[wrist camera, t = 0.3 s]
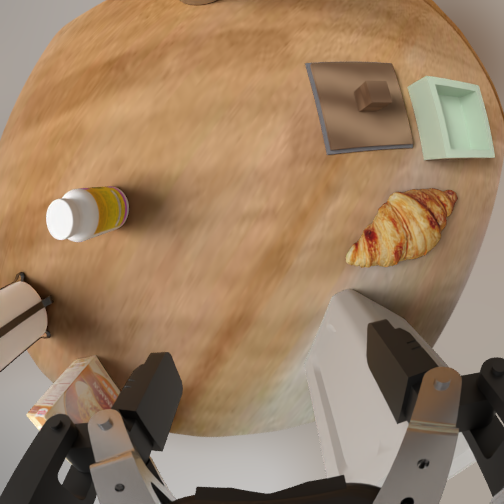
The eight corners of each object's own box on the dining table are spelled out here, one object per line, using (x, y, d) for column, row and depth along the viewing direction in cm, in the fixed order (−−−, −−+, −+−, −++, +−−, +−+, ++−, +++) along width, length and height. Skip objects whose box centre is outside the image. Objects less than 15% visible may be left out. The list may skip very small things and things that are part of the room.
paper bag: (395, 266, 38) (525, 366, 11) (408, 339, 41) (492, 449, 14) (281, 315, 40) (304, 486, 13) (311, 382, 43) (340, 524, 16)
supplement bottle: (121, 178, 36) (69, 179, 24) (136, 219, 38) (88, 235, 25) (89, 197, 37) (35, 205, 24) (103, 236, 38) (52, 256, 26)
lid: (309, 65, 31) (317, 47, 25) (389, 65, 30) (406, 51, 24) (330, 150, 34) (343, 144, 28) (410, 144, 33) (431, 139, 27)
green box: (407, 87, 31) (426, 75, 25) (458, 92, 30) (478, 85, 25) (424, 160, 34) (446, 158, 28) (472, 158, 33) (495, 157, 27)
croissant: (345, 268, 42) (368, 304, 36) (325, 224, 36) (353, 262, 30) (441, 205, 38) (471, 231, 32) (437, 157, 32) (474, 180, 26)
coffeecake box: (135, 409, 47) (101, 476, 28) (112, 410, 48) (77, 471, 29) (96, 354, 44) (43, 417, 25) (75, 358, 45) (24, 414, 26)
